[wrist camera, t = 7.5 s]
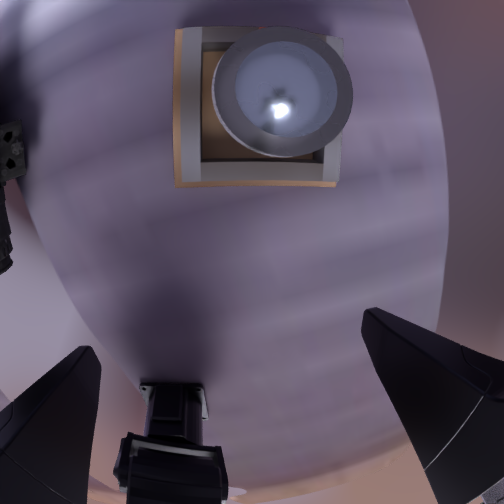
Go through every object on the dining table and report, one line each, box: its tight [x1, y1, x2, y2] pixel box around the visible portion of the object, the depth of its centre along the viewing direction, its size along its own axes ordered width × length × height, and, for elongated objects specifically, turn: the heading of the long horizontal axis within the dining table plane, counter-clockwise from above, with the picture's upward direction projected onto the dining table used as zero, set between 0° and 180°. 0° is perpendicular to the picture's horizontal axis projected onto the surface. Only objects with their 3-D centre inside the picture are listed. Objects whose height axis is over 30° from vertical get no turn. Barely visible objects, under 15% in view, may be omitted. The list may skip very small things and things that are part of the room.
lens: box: [212, 26, 353, 157], centre depth 12 cm, size 5×5×7 cm
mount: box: [173, 26, 344, 188], centre depth 15 cm, size 10×10×4 cm
